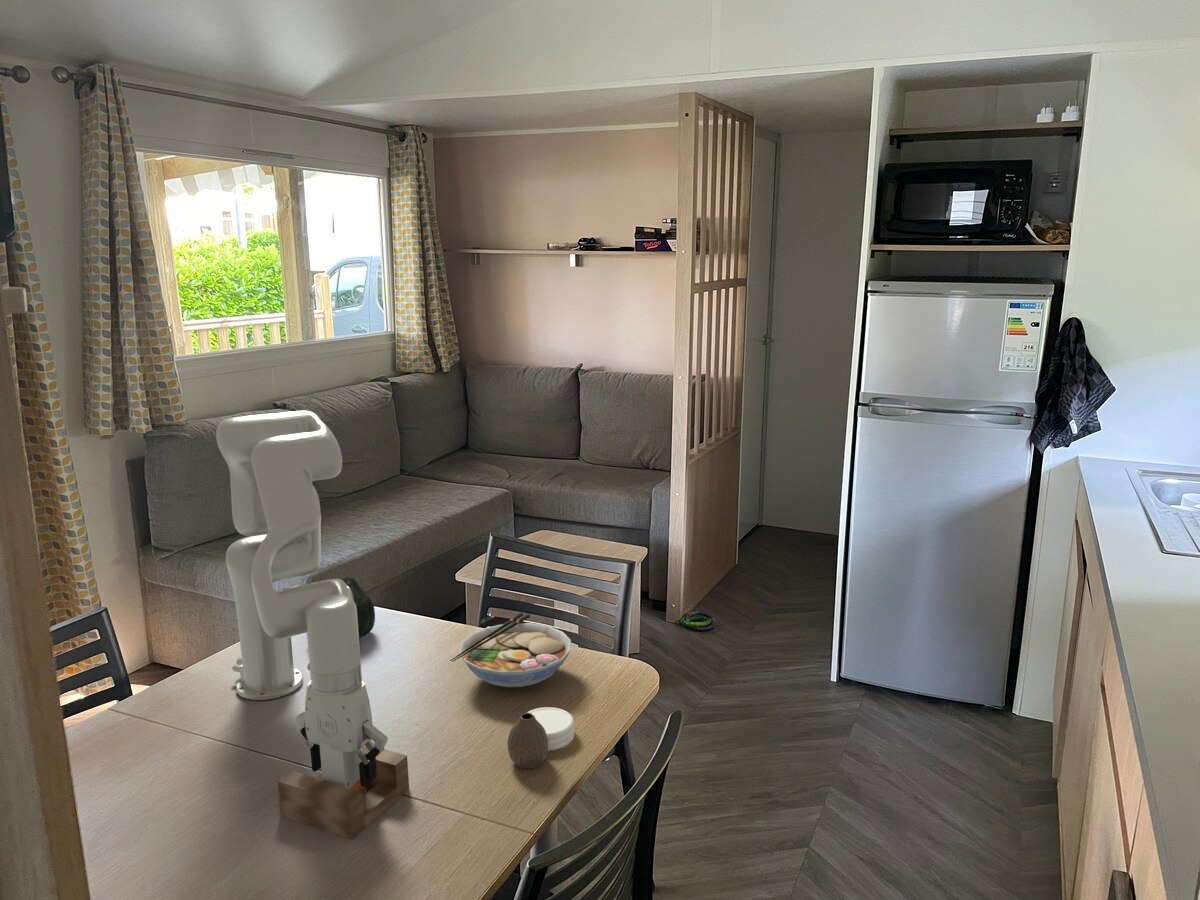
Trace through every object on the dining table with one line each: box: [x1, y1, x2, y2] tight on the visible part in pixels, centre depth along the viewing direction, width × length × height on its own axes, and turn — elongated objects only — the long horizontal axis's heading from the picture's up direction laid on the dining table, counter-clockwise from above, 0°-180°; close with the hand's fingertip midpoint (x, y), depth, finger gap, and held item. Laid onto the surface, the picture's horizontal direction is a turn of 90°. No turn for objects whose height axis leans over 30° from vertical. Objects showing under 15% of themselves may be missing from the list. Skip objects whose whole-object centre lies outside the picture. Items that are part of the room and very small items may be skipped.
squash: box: [339, 576, 376, 638], centre depth 201 cm, size 14×15×15 cm
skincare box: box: [320, 740, 367, 796], centre depth 141 cm, size 6×4×12 cm
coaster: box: [526, 706, 575, 752], centre depth 161 cm, size 10×10×4 cm
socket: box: [277, 745, 410, 840], centre depth 142 cm, size 14×14×6 cm
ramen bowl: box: [449, 612, 572, 688], centre depth 181 cm, size 25×23×8 cm
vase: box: [506, 712, 548, 770], centre depth 152 cm, size 7×7×9 cm
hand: (344, 774), depth 141 cm, fingers open, 9 cm apart
